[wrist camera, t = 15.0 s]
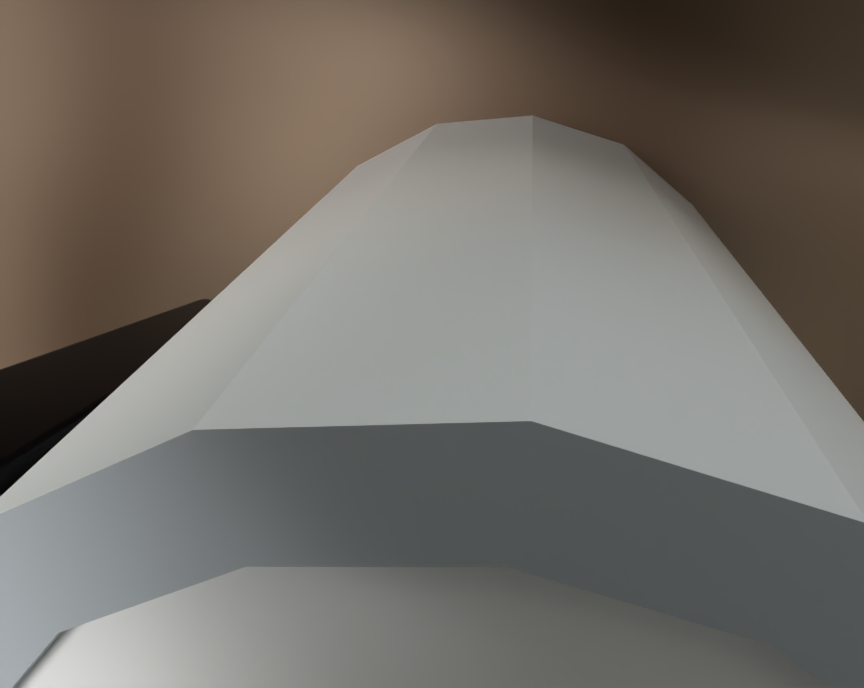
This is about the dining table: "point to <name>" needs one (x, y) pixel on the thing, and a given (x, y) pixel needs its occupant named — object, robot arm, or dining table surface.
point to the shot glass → (457, 455)
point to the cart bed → (409, 136)
